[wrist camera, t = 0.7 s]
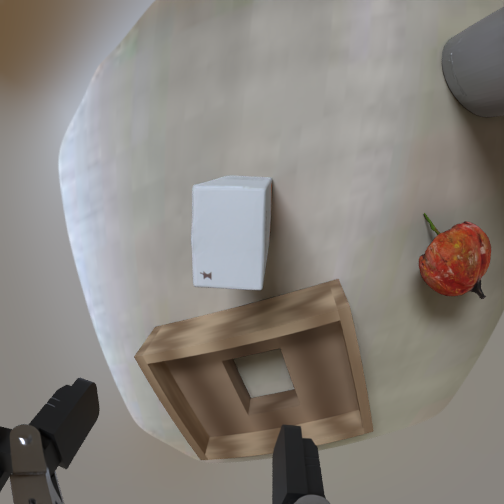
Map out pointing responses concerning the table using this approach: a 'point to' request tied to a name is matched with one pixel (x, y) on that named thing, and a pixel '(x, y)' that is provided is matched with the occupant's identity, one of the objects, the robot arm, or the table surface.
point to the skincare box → (231, 232)
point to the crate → (233, 389)
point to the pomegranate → (456, 260)
